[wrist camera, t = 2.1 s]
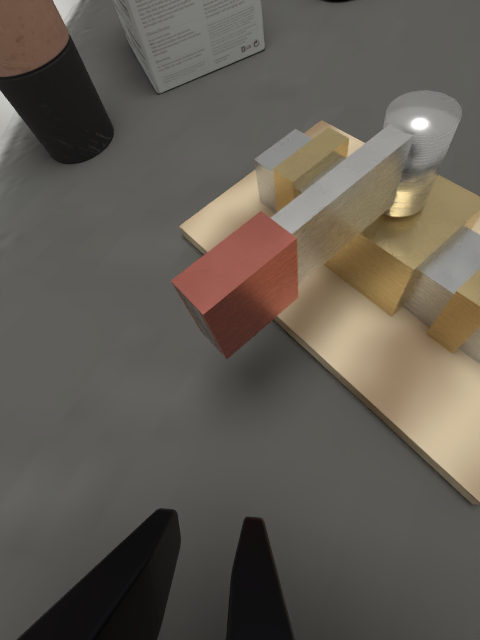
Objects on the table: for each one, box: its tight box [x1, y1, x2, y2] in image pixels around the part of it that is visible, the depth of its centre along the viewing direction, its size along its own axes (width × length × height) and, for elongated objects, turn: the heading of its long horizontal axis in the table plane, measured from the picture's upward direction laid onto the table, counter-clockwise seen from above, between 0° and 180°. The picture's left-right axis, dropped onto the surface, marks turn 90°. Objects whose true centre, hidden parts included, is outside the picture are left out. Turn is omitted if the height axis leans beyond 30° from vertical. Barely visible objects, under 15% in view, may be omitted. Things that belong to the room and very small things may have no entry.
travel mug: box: [0, 0, 113, 164], centre depth 29 cm, size 8×8×20 cm
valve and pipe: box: [254, 127, 480, 364], centre depth 22 cm, size 20×6×5 cm, turn 41°
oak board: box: [179, 120, 480, 505], centre depth 25 cm, size 26×16×1 cm, turn 41°
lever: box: [171, 91, 462, 359], centre depth 17 cm, size 14×3×5 cm, turn 131°
